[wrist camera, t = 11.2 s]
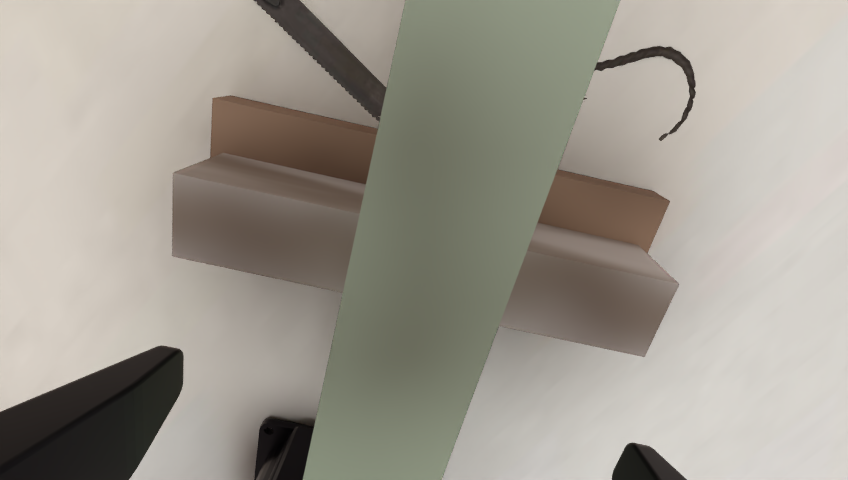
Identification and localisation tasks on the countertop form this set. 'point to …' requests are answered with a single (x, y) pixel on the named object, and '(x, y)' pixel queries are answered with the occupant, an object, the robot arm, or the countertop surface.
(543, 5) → the bar
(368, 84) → the brown tree branch
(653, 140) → the countertop surface
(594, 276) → the ridge stand
